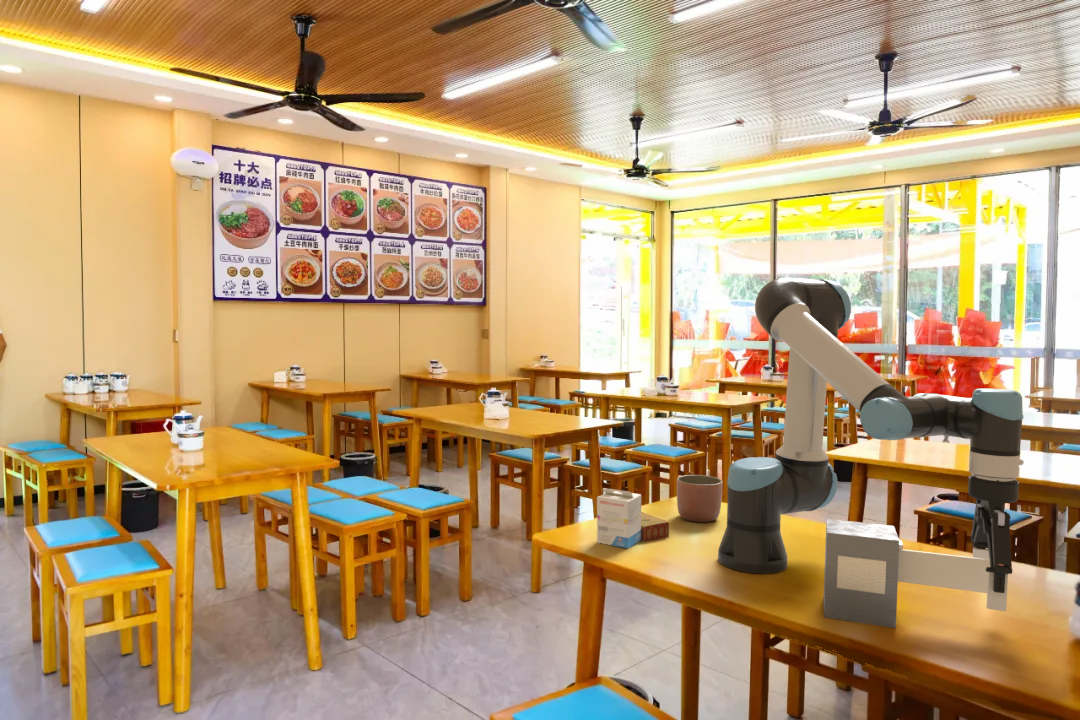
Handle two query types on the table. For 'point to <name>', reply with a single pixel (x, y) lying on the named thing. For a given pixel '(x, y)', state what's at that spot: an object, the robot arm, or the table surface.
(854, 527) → the dispenser
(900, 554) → the pink-tipped white stick
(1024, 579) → the table surface
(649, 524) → the carton
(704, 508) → the planter
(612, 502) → the ink box
